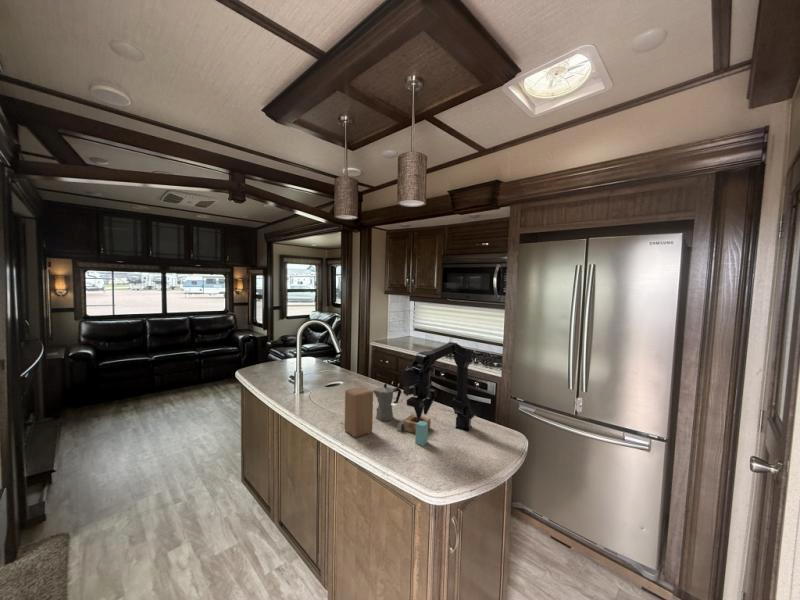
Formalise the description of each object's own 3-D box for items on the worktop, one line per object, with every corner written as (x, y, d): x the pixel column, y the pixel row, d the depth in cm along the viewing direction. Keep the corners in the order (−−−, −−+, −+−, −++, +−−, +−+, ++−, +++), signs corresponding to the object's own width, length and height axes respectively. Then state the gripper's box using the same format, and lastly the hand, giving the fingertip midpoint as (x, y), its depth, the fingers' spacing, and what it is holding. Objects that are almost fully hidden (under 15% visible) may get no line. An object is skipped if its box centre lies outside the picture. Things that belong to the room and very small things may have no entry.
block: (343, 430, 151) (344, 389, 150) (361, 425, 157) (362, 385, 157) (354, 438, 143) (355, 394, 143) (373, 432, 150) (374, 390, 149)
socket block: (430, 427, 156) (430, 418, 156) (421, 435, 148) (421, 425, 148) (413, 423, 161) (413, 414, 161) (403, 430, 153) (403, 420, 153)
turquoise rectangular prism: (427, 442, 141) (428, 422, 141) (423, 446, 138) (423, 426, 138) (419, 440, 143) (420, 420, 143) (415, 443, 140) (415, 423, 140)
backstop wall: (415, 422, 163) (415, 415, 163) (401, 432, 151) (401, 425, 151) (411, 421, 164) (412, 414, 164) (397, 431, 152) (397, 423, 152)
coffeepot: (374, 423, 160) (375, 387, 160) (370, 415, 169) (371, 382, 169) (403, 419, 165) (404, 385, 164) (398, 412, 174) (398, 380, 173)
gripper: (417, 374, 152) (416, 406, 152) (396, 383, 136) (395, 419, 136) (438, 378, 146) (437, 411, 147) (419, 388, 130) (418, 425, 131)
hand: (422, 416), depth 140 cm, fingers open, 6 cm apart
